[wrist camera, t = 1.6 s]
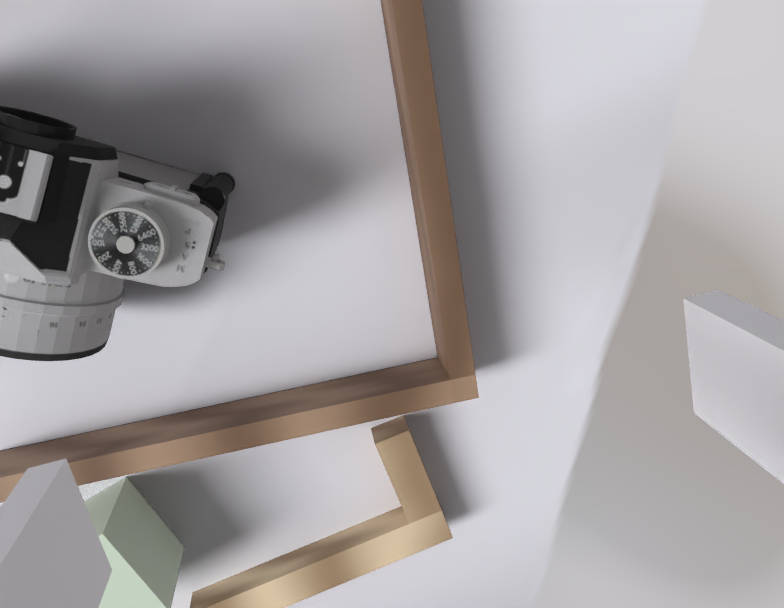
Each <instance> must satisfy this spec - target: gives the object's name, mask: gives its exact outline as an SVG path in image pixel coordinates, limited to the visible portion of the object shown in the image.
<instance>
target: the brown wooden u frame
mask: <svg viewBox="0 0 784 608" xmlns="http://www.w3.org/2000/svg"><path fill="white" fill-rule="evenodd" d="M381 6H382V12H383V18H384V24H385V31H386V37H387V43H388V49H389V56H390V62H391V68H392V74H393V81H394V87H395V93H396V100H397V106H398V112H399V118H400V125H401V131H402V137H403V143H404V150H405V156H406V162H407V168H408V175H409V181H410V187H411V193H412V200H413V206H414V212H415V218H416V225H417V231H418V237H419V243H420V250H421V256H422V262H423V269H424V275H425V281H426V287H427V294H428V300H429V306H430V312H431V319H432V325H433V331H434V337H435V344H436V350H437V356H438V358H434V359H429V360H425V361H420V362H415V363H411V364H406V365H401V366H397V367H392V368H387V369H382V370H378V371H373V372H368V373H364V374H359V375H354V376H350V377H345V378H340V379H336V380H331V381H326V382H322V383H317V384H312V385H307V386H303V387H298V388H293V389H289V390H284V391H279V392H275V393H270V394H265V395H261V396H256V397H251V398H247V399H242V400H237V401H233V402H228V403H223V404H218V405H214V406H209V407H204V408H200V409H195V410H190V411H186V412H181V413H176V414H172V415H167V416H162V417H158V418H153V419H148V420H143V421H139V422H134V423H129V424H125V425H120V426H115V427H111V428H106V429H101V430H97V431H92V432H87V433H83V434H78V435H73V436H69V437H64V438H59V439H54V440H50V441H45V442H40V443H36V444H31V445H26V446H22V447H17V448H12V449H8V450H3V451H0V503H1V502H5V500H6V499H7V497H8V496H9V494H10V493H11V492H12V490H13V489H14V487H15V486H16V484H17V483H18V482H19V480H20V479H21V477H22V476H23V474H24V473H25V472H26V470H27V469H28V468H31V467H35V466H39V465H42V464H46V463H50V462H54V461H58V460H62V459H67V462H68V464H69V467H70V469H71V471H72V474H73V476H74V479H75V481H76V483H77V486H79V485H83V484H88V483H92V482H97V481H101V480H106V479H110V478H115V477H120V476H124V475H129V474H133V473H138V472H142V471H147V470H151V469H156V468H160V467H165V466H170V465H174V464H179V463H183V462H188V461H192V460H197V459H201V458H206V457H211V456H215V455H220V454H224V453H229V452H233V451H238V450H242V449H247V448H251V447H256V446H261V445H265V444H270V443H274V442H279V441H283V440H288V439H292V438H297V437H302V436H306V435H311V434H315V433H320V432H324V431H329V430H333V429H338V428H343V427H347V426H352V425H356V424H361V423H365V422H370V421H374V420H379V419H383V418H388V417H393V416H397V415H402V414H406V413H411V412H415V411H420V410H424V409H429V408H434V407H438V406H443V405H447V404H452V403H456V402H461V401H465V400H470V399H475V398H479V396H478V389H477V382H476V375H475V368H474V361H473V354H472V347H471V340H470V333H469V326H468V319H467V312H466V305H465V298H464V291H463V284H462V277H461V270H460V263H459V256H458V249H457V242H456V235H455V228H454V221H453V215H452V208H451V201H450V194H449V187H448V180H447V173H446V166H445V159H444V152H443V145H442V138H441V131H440V124H439V117H438V110H437V103H436V96H435V89H434V82H433V75H432V68H431V61H430V54H429V47H428V40H427V33H426V26H425V19H424V12H423V6H422V0H381Z"/></svg>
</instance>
